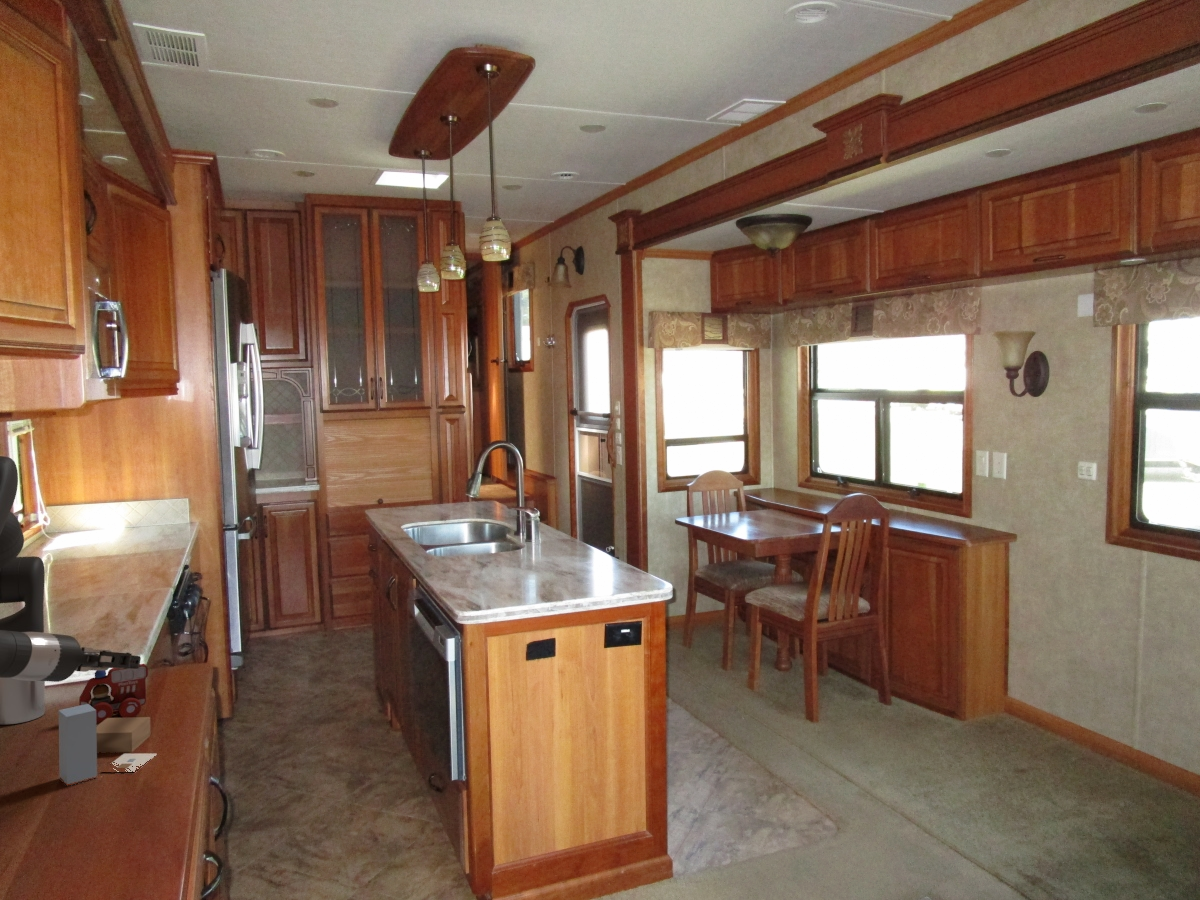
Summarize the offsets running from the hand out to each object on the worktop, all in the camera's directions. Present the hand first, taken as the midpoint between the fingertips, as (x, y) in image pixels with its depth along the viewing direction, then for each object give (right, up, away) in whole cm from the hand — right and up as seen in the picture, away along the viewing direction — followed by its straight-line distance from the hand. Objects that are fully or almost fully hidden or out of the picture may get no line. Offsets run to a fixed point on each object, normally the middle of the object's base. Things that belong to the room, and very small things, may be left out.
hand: (118, 662), depth 149 cm
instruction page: (+1, -19, +1) cm, 19 cm away
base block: (-6, -18, +10) cm, 22 cm away
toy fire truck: (-15, -18, +25) cm, 34 cm away
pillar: (-4, -19, -5) cm, 20 cm away
